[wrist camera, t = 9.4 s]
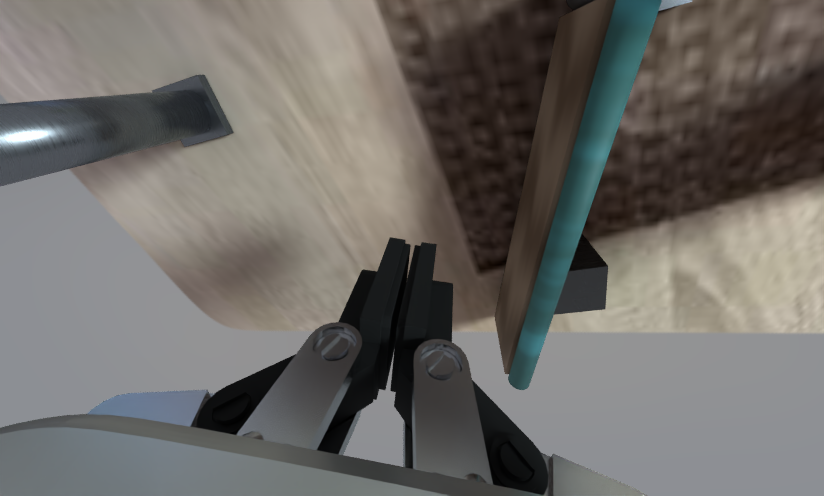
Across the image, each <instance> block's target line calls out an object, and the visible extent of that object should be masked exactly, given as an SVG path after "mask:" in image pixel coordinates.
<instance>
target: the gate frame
mask: <svg viewBox="0 0 824 496" xmlns="http://www.w3.org/2000/svg"><path fill="white" fill-rule="evenodd" d="M688 2H692V0H662V2H661V5H660V8H659V11H660V10H664V9H667V8H671V7H674V6H678V5H681V4H685V3H688ZM231 133H234V132H233V130H232V128H231V126H230V124H229V122H228V120H227V118H226V116H225V114H224V113H223V111H222V109H221V107H220V105H219V103H218V101H217V99H216V97H215V95H214V93H213V91H212V89H211V87H210V85H209V83H208V81H207V79H206V77H205V75H196V76H193V77H190V78H187V79H184V80H181V81H179V82H176V83H173V84H170V85H167V86H164V87H161V88H158V89H155V90H153V91H152V93H139V94H126V95H113V96H100V97H87V98H74V99H60V100H47V101H34V102H21V103H8V104H0V186H4V185H7V184H12V183H15V182H19V181H23V180H27V179H31V178H35V177H39V176H42V175H46V174H50V173H54V172H58V171H62V170H65V169H69V168H73V167H77V166H81V165H85V164H89V163H93V162H96V161H100V160H104V159H108V158H112V157H116V156H120V155H123V154H127V153H131V152H135V151H139V150H143V149H147V148H150V147H154V146H158V145H162V144H166V143H170V142H174V141H177V140H181V141H182V143H183V145H184V147H186V146H189V145H193V144H196V143H200V142H203V141H207V140H210V139H214V138H217V137H221V136H224V135H228V134H231ZM607 274H608V266H607V264H606V263H605V262H604V261H603V259H602V258H601V257H600V256H599V254H598V253H597V252H596V251H595V249H594V248H593V247H592V246H591V244H590V243H589V242H588V241H587V239H586V238H585V237H584V236H583V234H581V237H580V239H579V242H578V245H577V248H576V251H575V254H574V257H573V260H572V263H571V265H570V268H569V271H568V274H567V277H566V280H565V283H564V286H563V289H562V292H561V294H560V297H559V300H558V303H557V306H556V309H555V312H554V314H564V313H573V312H583V311H592V310H602V309H605V305H606V290H607Z"/></svg>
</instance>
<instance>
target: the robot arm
mask: <svg viewBox="0 0 824 496" xmlns="http://www.w3.org/2000/svg"><path fill="white" fill-rule="evenodd" d="M435 253H436V244H430V243H423V242H422V243H421V246H417V245H415V248H414V252H413V257H412V261H411V265H410V270H409V274H408V278H407V273H408V264H409V255H410V244H405V240H403V239H397V238H390V239H389V242H388V244H387V247H386V250H385V252H384V255H383V258H382V260H381V263H380V266H379V268H378V271H377V272H376V271H370V270H362V271H361V273H360V275H359V277H358V280H357V282H356V284H355V286H354V289H353V291H352V293H351V295H350V298H349V300H348V302H347V304H346V306H345V309H344V311H343V313H342V315H341V318H340V320H339V322H336V323H329V324H326V325H323V326H321V327H319V328H318V329H316V330H315V331H314V332H313V333H312V334H311V335H310V336H309V337H308V339H307V340H306V342H305V343H304V344H303V346H302V347H301V348H300V350H299V351H298V352H297V354H295V355H293V356H291V357H289V358H287V359H285V360H283V361H280V362H278V363H276V364H274V365H272V366H269V367H267V368H265V369H263V370H261V371H259V372H257V373H255V374H252V375H250V376H248V377H246V378H244V379H241V380H239V381H237V382H235V383H233V384H231V385H228V386H226V387H225V388H223V389H221V390H219V391H218V392H216V393H209V392H208V390H188V391H167V392H147V393H128V394H123V395H117V396H115V397H112V398H110V399H108V400H106V401H103V402H102V403H101V404H99V405H98V406H96V407H95V408H93V409H92V410H91V411H90V412H89V413H88V414H80V415H66V416H58V417H51V418H43V419H38V420H32V421H27V422H22V423H17V424H13V425H9V426H5V427H2V428H0V496H647V495H645V494H644V493H642V492H640V491H639V490H637V489H635V488H632V487H630V486H628V485H625V484H623V483H621V482H618V481H616V480H614V479H611V478H609V477H607V476H604V475H602V474H600V473H597V472H595V471H592V470H590V469H588V468H585V467H583V466H581V465H579V464H576V463H574V462H572V461H569V460H567V459H564V458H562V457H560V456H558V455H555V454H553V455H552V456H551V457H550V456H547V455H545V454H543V453H541V452H540V451H539V450H538V448H536V446H535V445H534V443H533V442H532V441H531V440H530V439H529V438H528V437H527V436H526V435H525V434H524V433H523V432H522V431H521V430H520V429H519V428H518V427H517V426H516V425H515V424H514V423H513V422H512V421H511V420H510V419H509V417H508V416H507V415H506V414H505V413H504V412H503V411H502V410H501V409H500V408H499V407H498V406H497V405H496V404H495V403H494V402H493V401H492V400H491V399H490V398H489V397H488V396H487V395H486V394H485V393H484V392H483V391H482V390H481V389H480V388H479V387H478V386H477V384H475V382H474V381H473V380H472V378H471V373H470V368H469V363H468V360H467V357H466V355H465V354H464V352H463V351H462V350H461V348H459V347H458V346H456V345H455V344H454V343H452V307H453V284H452V283H446V282H440V281H433V280H432V279H433V270H434V262H435ZM406 282H407V283H406ZM394 348H395V350H394ZM393 352H394V361H393V370H392V380H391V391H394V392H396V395H395V404H394V407H395V408H396V409H397V411H398V412H399V414H400V415H401V417H402V418H403V419H404V424H403V431H404V432H403V467H400V466H395V465H390V464H384V463H379V462H374V461H369V460H364V459H359V458H354V457H349V456H343V454H344V452H345V449H346V447H347V445H348V443H349V440H350V438H351V436H352V433H353V431H354V429H355V426H356V424H357V422H358V419H359V417H360V413H361V409H363V408H365V407H366V406H367V405H369V404H371V403H372V402H373V399H377V395H378V391H379V389H382V390H385V389H386V385H387V380H388V376H389V371H390V366H391V362H392V357H393Z"/></svg>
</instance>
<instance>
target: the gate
mask: <svg viewBox="0 0 824 496" xmlns="http://www.w3.org/2000/svg"><path fill="white" fill-rule="evenodd" d="M566 1H567V4H568V5H569V7H570V8H571V9H573V10H574V11H572V12H570V13H568V14H566V15H564V16H562V17H560V18H559V22H558V27H557V32H556V36H555V41H554V45H553V50H552V55H551V59H550V64H549V68H548V73H547V78H546V82H545V87H544V91H543V96H542V101H541V105H540V110H539V115H538V119H537V124H536V128H535V133H534V138H533V142H532V147H531V151H530V156H529V161H528V165H527V170H526V175H525V179H524V184H523V188H522V193H521V198H520V202H519V207H518V211H517V216H516V221H515V225H514V230H513V234H512V239H511V244H510V248H509V253H508V258H507V262H506V267H505V271H504V276H503V281H502V285H501V290H500V294H499V299H498V304H497V308H496V313H495V321H496V327H497V332H498V338H499V344H500V349H501V355H502V360H503V365H504V372H505V374H509V377H508V380H509V383H510V384H511V385H512V386H513V387H515V388H516V389H519V390H525V389H527V388H528V387H529V384H530V381H531V378H532V375H533V373H534V370H535V367H536V364H537V361H538V358H539V355H540V352H541V349H542V347H543V344H544V341H545V338H546V335H547V332H548V329H549V326H550V323H551V320H552V318H553V315H554V312H555V309H556V306H557V303H558V300H559V297H560V294H561V292H562V289H563V286H564V283H565V280H566V277H567V274H568V271H569V268H570V265H571V263H572V260H573V257H574V254H575V251H576V248H577V245H578V242H579V239H580V237H581V234H582V231H583V228H584V225H585V222H586V219H587V216H588V213H589V210H590V208H591V205H592V202H593V199H594V196H595V193H596V190H597V187H598V184H599V182H600V179H601V176H602V173H603V170H604V167H605V164H606V161H607V158H608V155H609V153H610V150H611V147H612V144H613V141H614V138H615V135H616V132H617V129H618V127H619V124H620V121H621V118H622V115H623V112H624V109H625V106H626V103H627V100H628V98H629V95H630V92H631V89H632V86H633V83H634V80H635V77H636V74H637V72H638V69H639V66H640V63H641V60H642V57H643V54H644V51H645V48H646V45H647V43H648V40H649V37H650V34H651V31H652V28H653V25H654V22H655V19H656V17H657V14H658V11H659V8H660V5H661V2H662V0H566Z"/></svg>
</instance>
